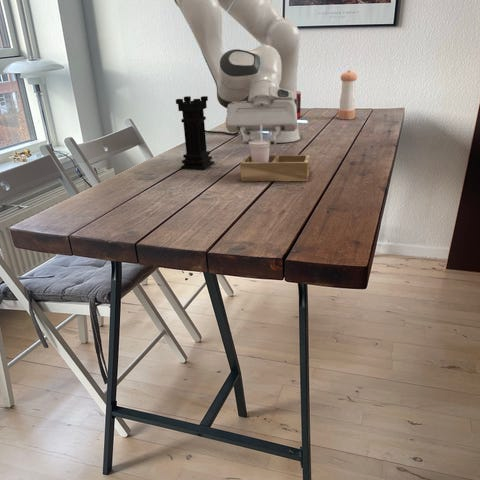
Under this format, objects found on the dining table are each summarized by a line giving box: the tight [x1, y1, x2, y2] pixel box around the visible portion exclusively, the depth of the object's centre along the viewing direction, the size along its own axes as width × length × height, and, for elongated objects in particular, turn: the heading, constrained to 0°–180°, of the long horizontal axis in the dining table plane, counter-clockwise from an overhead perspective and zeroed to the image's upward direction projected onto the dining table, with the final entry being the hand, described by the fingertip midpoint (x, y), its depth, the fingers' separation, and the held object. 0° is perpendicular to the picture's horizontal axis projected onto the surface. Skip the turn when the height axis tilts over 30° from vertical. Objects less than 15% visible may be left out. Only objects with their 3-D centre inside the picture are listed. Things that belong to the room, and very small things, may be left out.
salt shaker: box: [337, 69, 358, 120], centre depth 219 cm, size 7×7×19 cm
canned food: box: [297, 90, 302, 119], centre depth 228 cm, size 8×8×11 cm
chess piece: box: [175, 95, 215, 171], centre depth 153 cm, size 8×8×20 cm
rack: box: [239, 154, 311, 182], centre depth 142 cm, size 10×19×5 cm, turn 80°
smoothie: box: [247, 125, 272, 162], centre depth 140 cm, size 6×6×14 cm
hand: (259, 143), depth 139 cm, fingers closed on smoothie, 6 cm apart
